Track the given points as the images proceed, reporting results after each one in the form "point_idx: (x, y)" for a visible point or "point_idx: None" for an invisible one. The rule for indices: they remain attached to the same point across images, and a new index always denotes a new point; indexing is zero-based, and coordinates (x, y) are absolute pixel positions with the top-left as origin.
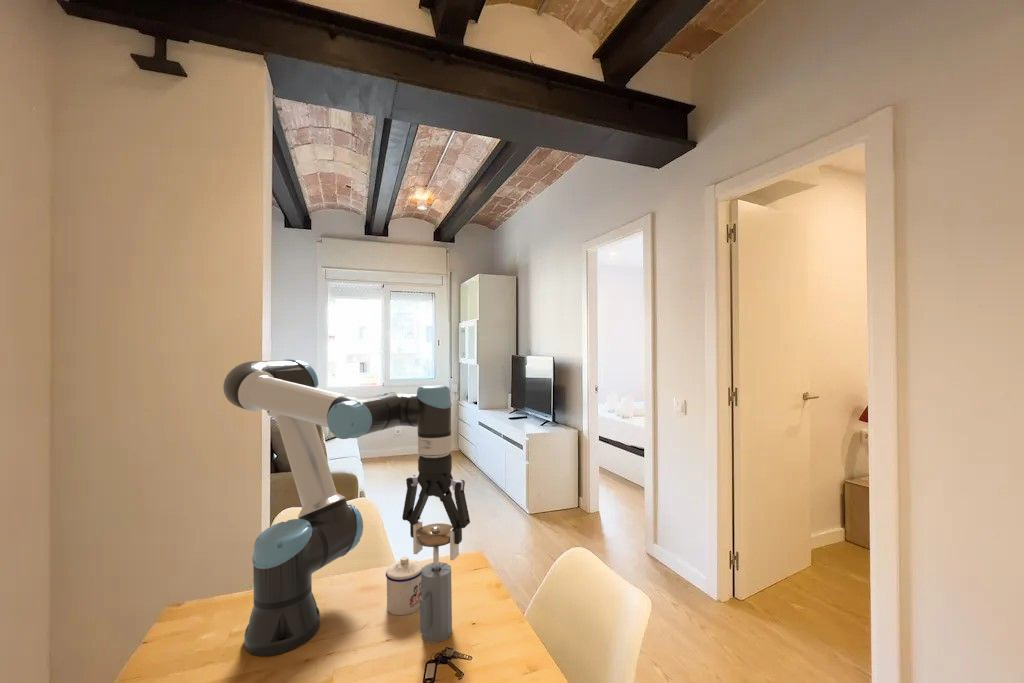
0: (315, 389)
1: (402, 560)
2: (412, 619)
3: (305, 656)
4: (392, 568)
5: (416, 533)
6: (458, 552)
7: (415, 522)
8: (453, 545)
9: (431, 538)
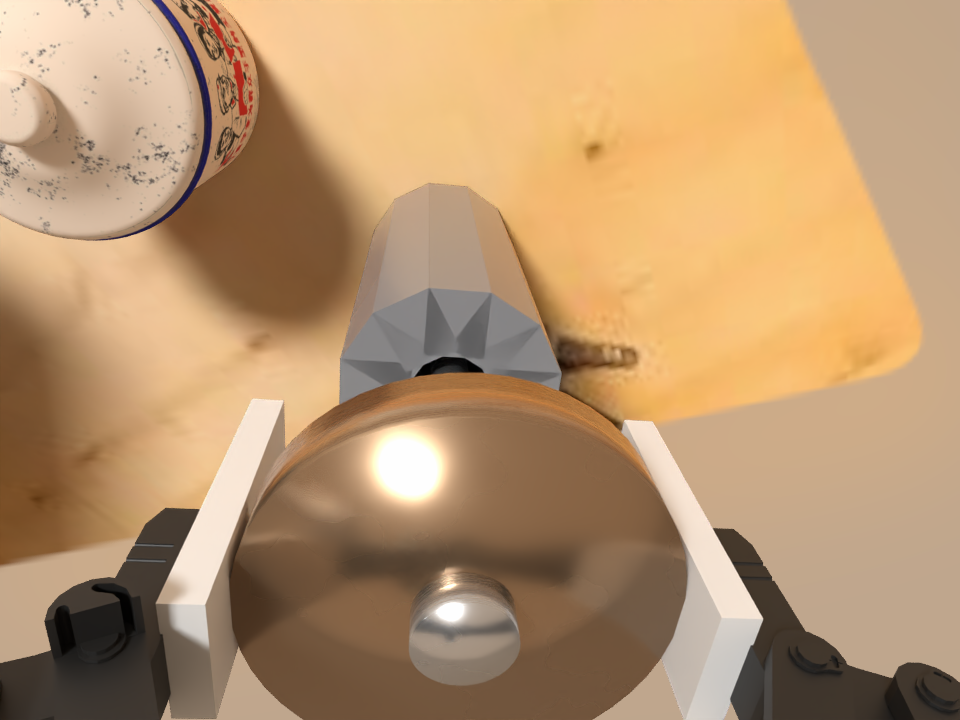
0: None
1: (12, 142)
2: (276, 189)
3: (13, 487)
4: None
5: (275, 695)
6: (658, 438)
7: (164, 698)
8: None
9: None
